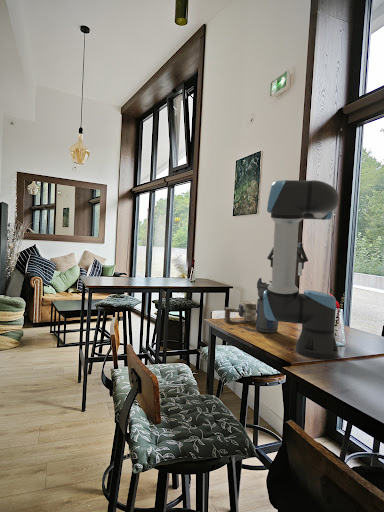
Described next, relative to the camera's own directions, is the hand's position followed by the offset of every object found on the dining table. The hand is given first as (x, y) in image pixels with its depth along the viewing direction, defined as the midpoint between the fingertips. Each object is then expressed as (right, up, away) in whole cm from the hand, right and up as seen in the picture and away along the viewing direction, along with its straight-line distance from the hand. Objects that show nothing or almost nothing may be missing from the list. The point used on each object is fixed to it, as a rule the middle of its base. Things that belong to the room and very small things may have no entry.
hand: (286, 274), depth 172 cm
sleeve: (-18, -24, +8) cm, 30 cm away
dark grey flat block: (-22, -22, +8) cm, 32 cm away
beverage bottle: (-11, -26, -10) cm, 30 cm away
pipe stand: (-19, -25, +8) cm, 33 cm away
